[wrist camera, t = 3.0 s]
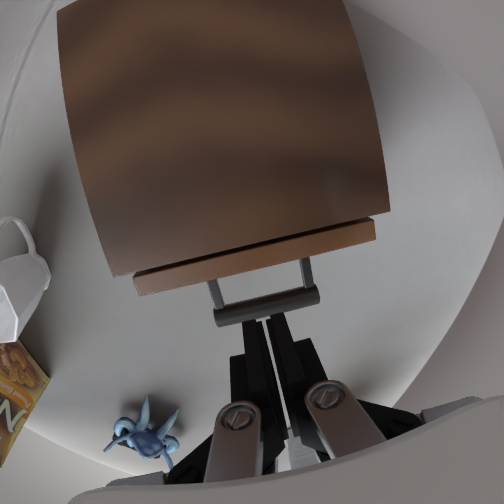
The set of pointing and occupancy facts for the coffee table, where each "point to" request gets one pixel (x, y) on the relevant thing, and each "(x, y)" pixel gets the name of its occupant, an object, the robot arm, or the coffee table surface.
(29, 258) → the cup
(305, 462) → the cosmetic box
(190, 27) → the cabinet
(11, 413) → the candy box
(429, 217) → the coffee table surface
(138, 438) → the figurine
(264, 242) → the drawer
